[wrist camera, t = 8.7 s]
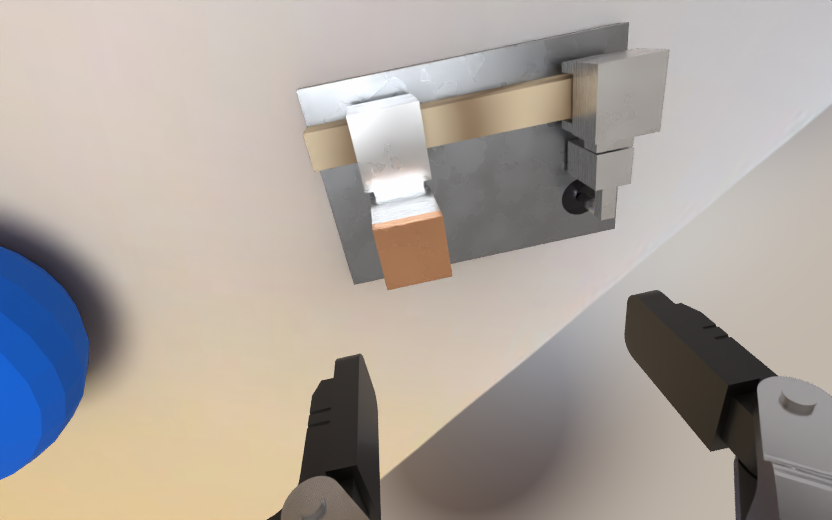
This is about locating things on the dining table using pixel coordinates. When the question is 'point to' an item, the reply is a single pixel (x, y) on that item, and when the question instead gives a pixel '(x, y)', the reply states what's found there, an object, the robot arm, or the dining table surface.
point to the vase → (36, 360)
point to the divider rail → (459, 118)
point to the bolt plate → (472, 154)
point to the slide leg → (399, 190)
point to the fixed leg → (612, 118)
